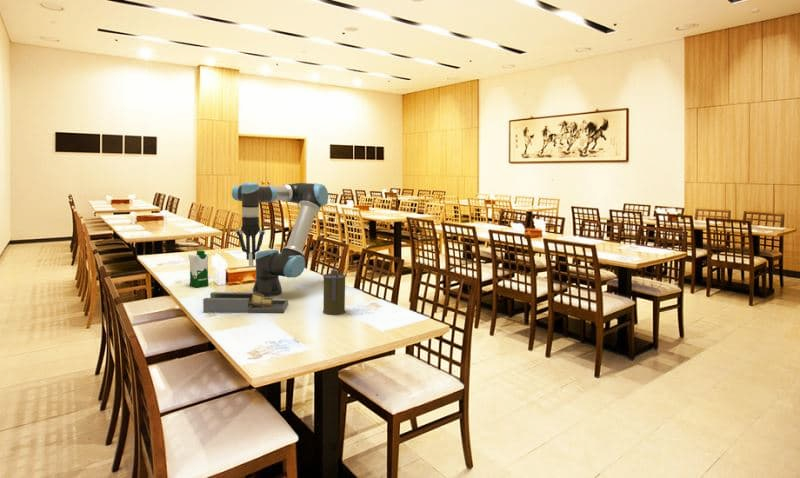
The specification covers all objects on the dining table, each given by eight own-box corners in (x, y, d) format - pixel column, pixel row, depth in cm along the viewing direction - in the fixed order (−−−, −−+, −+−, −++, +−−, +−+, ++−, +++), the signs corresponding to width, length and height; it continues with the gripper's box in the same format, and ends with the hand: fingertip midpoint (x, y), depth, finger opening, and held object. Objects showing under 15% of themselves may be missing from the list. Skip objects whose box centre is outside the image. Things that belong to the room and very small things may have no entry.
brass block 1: (261, 303, 239) (264, 294, 238) (259, 306, 234) (262, 297, 234) (252, 301, 239) (255, 292, 238) (250, 303, 234) (252, 294, 234)
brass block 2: (263, 306, 239) (273, 306, 239) (261, 309, 234) (271, 309, 235) (263, 297, 238) (273, 297, 239) (261, 299, 234) (271, 299, 234)
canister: (323, 308, 240) (323, 267, 237) (345, 308, 241) (346, 268, 238) (322, 315, 229) (322, 272, 226) (344, 315, 230) (345, 272, 227)
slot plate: (254, 304, 244) (254, 292, 243) (248, 312, 230) (248, 299, 229) (212, 304, 242) (212, 292, 241) (203, 312, 228) (203, 299, 227)
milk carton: (196, 288, 272) (195, 252, 269) (187, 286, 277) (186, 250, 274) (211, 286, 279) (210, 250, 276) (201, 283, 284) (200, 248, 281)
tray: (288, 304, 245) (288, 300, 245) (283, 313, 230) (283, 308, 230) (254, 304, 244) (254, 299, 244) (247, 312, 229) (247, 308, 229)
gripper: (266, 215, 235) (266, 265, 238) (238, 215, 234) (238, 264, 237) (263, 217, 228) (263, 268, 231) (234, 216, 227) (234, 267, 230)
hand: (251, 266), depth 234 cm, fingers closed
